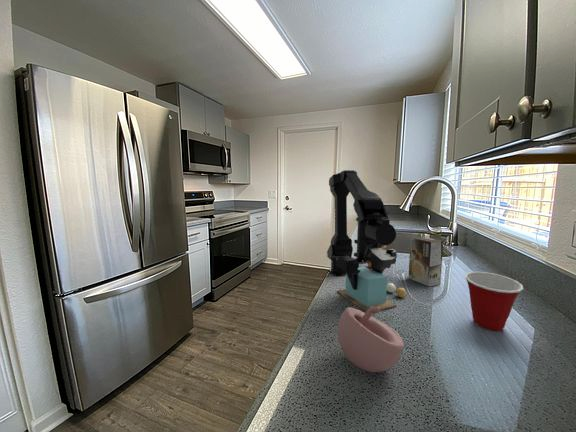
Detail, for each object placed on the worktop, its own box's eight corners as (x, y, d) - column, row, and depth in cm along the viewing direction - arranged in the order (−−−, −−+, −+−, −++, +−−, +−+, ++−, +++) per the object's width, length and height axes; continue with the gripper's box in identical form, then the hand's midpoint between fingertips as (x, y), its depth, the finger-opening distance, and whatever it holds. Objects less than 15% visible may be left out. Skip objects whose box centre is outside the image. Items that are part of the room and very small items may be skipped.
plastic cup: (465, 330, 56) (469, 282, 55) (457, 310, 66) (461, 269, 65) (526, 344, 51) (532, 291, 50) (508, 320, 61) (513, 275, 60)
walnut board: (337, 292, 77) (337, 290, 77) (360, 287, 81) (360, 285, 81) (369, 314, 64) (369, 312, 64) (396, 306, 68) (396, 305, 68)
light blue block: (345, 293, 76) (346, 269, 75) (362, 289, 78) (363, 266, 78) (367, 307, 66) (368, 280, 66) (385, 302, 69) (387, 276, 68)
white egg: (383, 291, 78) (384, 282, 78) (390, 289, 80) (390, 281, 79) (390, 294, 76) (391, 285, 75) (397, 293, 77) (398, 284, 77)
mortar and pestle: (417, 382, 41) (421, 321, 40) (354, 395, 38) (357, 329, 37) (377, 340, 53) (379, 291, 51) (327, 347, 50) (328, 296, 49)
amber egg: (393, 295, 75) (393, 286, 74) (400, 294, 76) (400, 285, 76) (401, 299, 72) (401, 290, 72) (408, 298, 73) (408, 288, 73)
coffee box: (441, 284, 84) (445, 240, 82) (428, 287, 82) (431, 242, 80) (419, 275, 92) (422, 236, 91) (407, 277, 90) (409, 237, 89)
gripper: (361, 246, 59) (358, 304, 61) (412, 240, 67) (409, 292, 69) (335, 238, 69) (334, 288, 71) (382, 233, 77) (380, 279, 79)
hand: (365, 287), depth 72 cm, fingers open, 8 cm apart
